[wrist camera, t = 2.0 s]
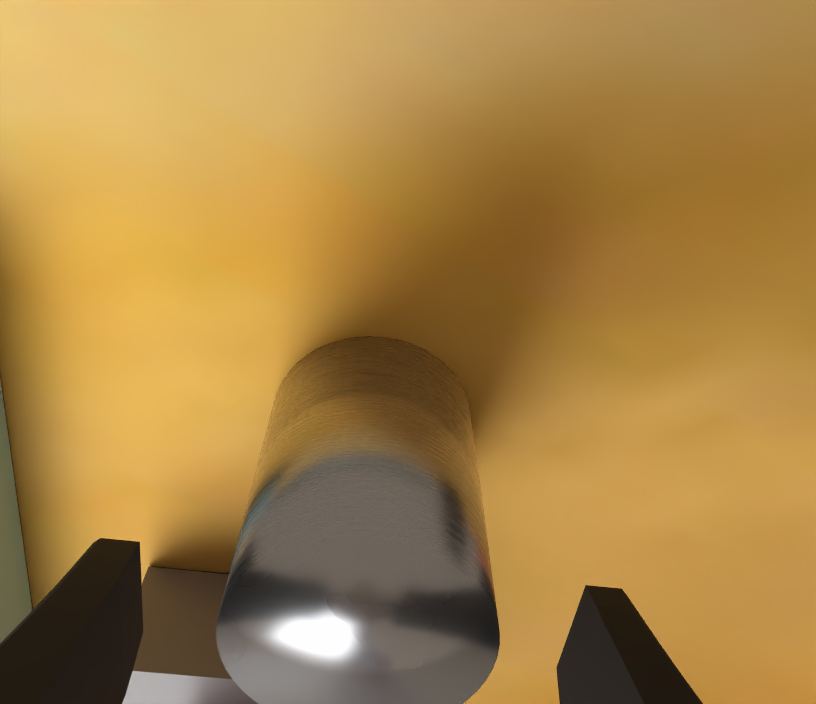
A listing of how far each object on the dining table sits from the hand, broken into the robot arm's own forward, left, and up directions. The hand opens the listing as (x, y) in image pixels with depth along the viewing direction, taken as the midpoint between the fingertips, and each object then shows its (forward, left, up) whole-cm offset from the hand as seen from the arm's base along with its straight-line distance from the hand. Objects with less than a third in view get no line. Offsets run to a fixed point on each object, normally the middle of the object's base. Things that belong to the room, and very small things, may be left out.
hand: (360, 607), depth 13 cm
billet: (0, 0, -5) cm, 5 cm away
